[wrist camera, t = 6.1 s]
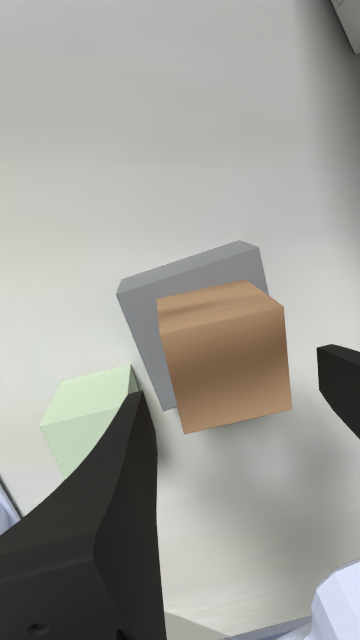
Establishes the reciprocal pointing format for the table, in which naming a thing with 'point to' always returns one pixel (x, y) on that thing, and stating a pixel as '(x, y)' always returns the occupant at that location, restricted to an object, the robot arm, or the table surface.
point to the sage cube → (84, 413)
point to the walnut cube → (225, 354)
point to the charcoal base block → (176, 279)
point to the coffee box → (350, 20)
